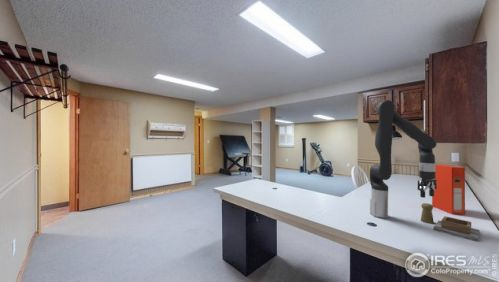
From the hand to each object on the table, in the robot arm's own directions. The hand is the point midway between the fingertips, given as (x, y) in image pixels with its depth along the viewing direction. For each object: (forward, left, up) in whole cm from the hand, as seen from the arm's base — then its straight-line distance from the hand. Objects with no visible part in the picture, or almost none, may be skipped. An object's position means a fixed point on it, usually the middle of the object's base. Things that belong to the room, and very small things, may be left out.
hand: (427, 196), depth 120 cm
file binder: (+31, +26, -15) cm, 43 cm away
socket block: (+6, -12, -15) cm, 20 cm away
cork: (0, 0, -15) cm, 15 cm away
